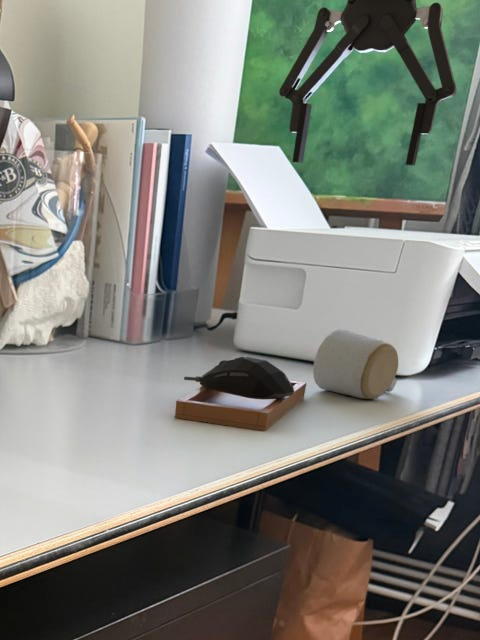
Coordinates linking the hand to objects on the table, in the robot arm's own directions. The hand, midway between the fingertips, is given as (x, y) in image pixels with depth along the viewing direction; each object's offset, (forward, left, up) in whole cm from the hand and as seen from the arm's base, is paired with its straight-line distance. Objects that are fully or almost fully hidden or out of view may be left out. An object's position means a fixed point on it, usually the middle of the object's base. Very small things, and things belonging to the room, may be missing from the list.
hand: (352, 164), depth 117 cm
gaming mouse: (+5, +22, -25) cm, 34 cm away
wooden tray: (+4, +22, -27) cm, 35 cm away
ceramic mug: (-6, +5, -27) cm, 28 cm away
